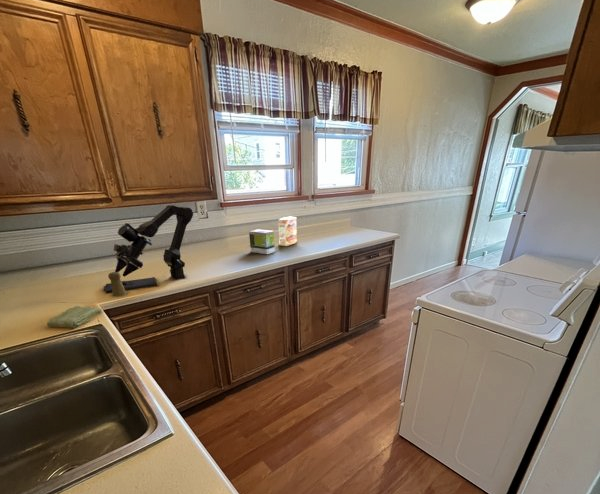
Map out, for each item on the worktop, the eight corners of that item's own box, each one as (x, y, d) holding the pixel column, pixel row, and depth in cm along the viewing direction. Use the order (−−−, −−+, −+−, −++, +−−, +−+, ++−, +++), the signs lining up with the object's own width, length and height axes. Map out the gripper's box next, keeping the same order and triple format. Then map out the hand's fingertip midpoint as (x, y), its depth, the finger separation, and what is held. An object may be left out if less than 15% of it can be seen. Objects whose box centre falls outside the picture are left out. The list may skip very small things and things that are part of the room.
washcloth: (104, 311, 142) (102, 304, 141) (76, 329, 127) (73, 322, 125) (76, 310, 143) (73, 303, 142) (44, 328, 128) (41, 321, 126)
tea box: (275, 251, 233) (274, 230, 226) (266, 254, 226) (265, 233, 219) (259, 249, 241) (257, 228, 234) (250, 252, 233) (248, 231, 226)
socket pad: (155, 279, 181) (154, 276, 180) (157, 286, 170) (157, 283, 169) (104, 286, 171) (103, 283, 171) (103, 294, 160) (102, 291, 160)
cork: (120, 296, 157) (114, 274, 152) (110, 296, 158) (103, 274, 153) (129, 292, 163) (123, 271, 157) (118, 291, 164) (112, 270, 159)
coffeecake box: (286, 246, 248) (285, 219, 239) (278, 245, 252) (277, 218, 243) (297, 242, 260) (296, 216, 250) (289, 241, 263) (289, 216, 254)
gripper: (114, 234, 159) (96, 261, 157) (130, 239, 148) (111, 268, 146) (134, 248, 168) (118, 273, 166) (150, 254, 156) (133, 281, 154)
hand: (119, 274), depth 158 cm, fingers open, 9 cm apart
